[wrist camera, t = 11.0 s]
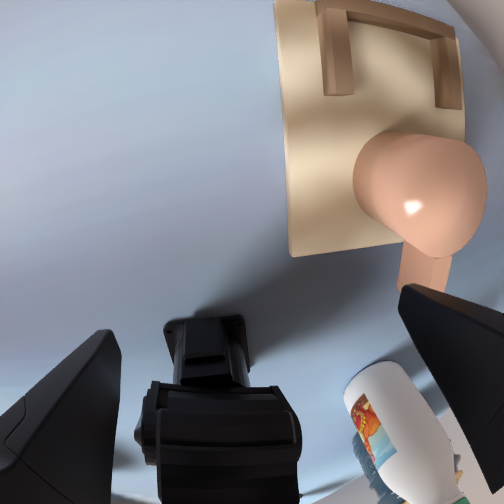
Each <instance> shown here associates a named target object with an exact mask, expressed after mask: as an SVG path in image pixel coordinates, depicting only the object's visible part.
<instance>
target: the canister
mask: <svg viewBox="0 0 504 504" xmlns="http://www.w3.org/2000/svg"><path fill="white" fill-rule="evenodd" d="M449 440H450V439H449ZM450 442H451V441H450ZM352 444H353V447H354V449H353V450H354V453H355V456H356V458H357V459H358V460H359V462H360V464H361V466H362V469H363V471H364V473H365V475H366V478H367V480H368V482H369V488H370V489H371V490H374V491H375V492H376V494H377V496H378V498H379V501H378V503H377V504H410V503H409V502H407V501H406V500H405V499H403V498H402V497H400V496H399V495H397V494H396V493H394V492H393V491H392V490H391V489H390V488H389V487H388V486H387V485H386V484H385V483H384V481H383V480H382V478H381V477H380V475H379V473H378V471H377V469H376V467H375V465H374V463H373V461H372V459H371V457H370V455H369V453H368V451H367V449H366V447H365V445H364V443H363V441H362V439H361V437H360V434H359V432H358V433H357V434H356V435H355V437H354V439H353V442H352ZM453 455H454V471H455V478H456V483H457V484H458V481H459V479H460V477H461V476H462V474H463V471H462V470H460V471H458V467H457V465H458V463H459V461H460V459H461V456H460V455H459V454H454V452H453Z"/></svg>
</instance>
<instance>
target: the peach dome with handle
mask: <svg viewBox="0 0 504 504" xmlns="http://www.w3.org/2000/svg"><path fill="white" fill-rule="evenodd" d="M353 189H354V194H355V197H356V200H357V202H358V204H359V206H360V207H361V209H362V210H363V211H364V212H365V213H366V214H367V215H368V216H369V217H371V218H372V219H374V220H375V221H377V222H378V223H380V224H381V225H383V226H385V227H386V228H388V229H389V230H391V231H392V232H394V233H395V234H397V235H398V236H400V237H401V238H403V239H404V242H403V250H402V257H401V264H400V270H399V276H398V282H397V288H396V289H397V290H398V291H399V292H400V293H401V289H402V287H403V286H404V285H406V284H411V283H416V284H419V285H422V286H425V287H428V288H431V289H434V290H437V291H440V292H443V293H444V291H445V287H446V283H447V279H448V275H449V271H450V266H451V261H452V254H454V253H456V252H458V251H459V250H460V249H462V248H463V247H464V246H465V245H466V244H467V243H468V242H469V240H470V239H471V238H472V236H473V235H474V233H475V232H476V230H477V228H478V226H479V224H480V222H481V220H482V217H483V214H484V210H485V206H486V200H487V179H486V173H485V169H484V166H483V164H482V161H481V159H480V157H479V156H478V154H477V153H476V151H475V150H474V149H473V148H472V147H471V146H469V145H468V144H466V143H464V142H462V141H458V140H453V139H448V138H442V137H436V136H430V135H424V134H417V133H410V132H402V131H384V132H381V133H379V134H377V135H375V136H374V137H372V138H371V139H370V140H369V141H368V142H367V143H366V144H365V145H364V146H363V147H362V149H361V151H360V152H359V154H358V156H357V159H356V162H355V165H354V170H353Z"/></svg>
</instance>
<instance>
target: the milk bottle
mask: <svg viewBox="0 0 504 504" xmlns="http://www.w3.org/2000/svg"><path fill="white" fill-rule="evenodd" d="M344 402H345V405H346V407H347V409H348V411H349V413H350V416H351V418H352V420H353V422H354V424H355V426H356V428H357V430H358V432H359V434H360V437H361V439H362V441H363V443H364V445H365V447H366V449H367V451H368V453H369V455H370V457H371V459H372V461H373V463H374V465H375V467H376V469H377V471H378V473H379V475H380V477H381V478H382V480H383V481H384V483H385V484H386V485H387V486H388V487H389V488H390V489H391V490H392V491H393V492H394V493H396V494H397V495H399V496H400V497H402V498H403V499H405V500H406V501H407V502H409V503H410V504H470V503H469V501H468V499H467V498H466V497H464V492H460V491H459V489H458V487H457V483H456V478H455V471H454V455H453V449H452V445H451V442H450V440H449V438H448V435H447V434H446V432H445V430H444V428H443V427H442V425H441V423H440V422H439V420H438V419H437V417H436V416H435V414H434V413H433V411H432V410H431V408H430V407H429V405H428V404H427V402H426V401H425V399H424V398H423V396H422V395H421V394H420V392H419V391H418V389H417V388H416V386H415V385H414V384H413V382H412V381H411V379H410V378H409V377H408V375H407V374H406V372H405V371H404V370H403V368H402V367H401V366H400V365H399V364H397V363H395V362H392V361H383V362H379V363H376V364H373V365H371V366H369V367H367V368H365V369H364V370H362V371H361V372H359V373H358V374H357V375H356V376H355V377H354V378H353V379H352V380H351V381H350V382H349V384H348V385H347V387H346V389H345V391H344Z"/></svg>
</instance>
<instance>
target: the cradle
mask: <svg viewBox="0 0 504 504" xmlns="http://www.w3.org/2000/svg"><path fill="white" fill-rule="evenodd" d="M273 7H274V17H275V27H276V37H277V48H278V60H279V72H280V85H281V99H282V113H283V129H284V147H285V166H286V188H287V213H288V246H289V253H290V255H291V256H292V258H293V257H300V256H307V255H315V254H322V253H329V252H336V251H343V250H350V249H358V248H365V247H372V246H379V245H386V244H393V243H399V242H404V239H403V238H401V237H400V236H398V235H397V234H395V233H394V232H392V231H391V230H389V229H388V228H386V227H385V226H383V225H381V224H380V223H378V222H377V221H375V220H374V219H372V218H371V217H369V216H368V215H367V214H366V213H365V212H364V211H363V210H362V209H361V207H360V206H359V204H358V202H357V200H356V197H355V194H354V189H353V170H354V165H355V162H356V159H357V156H358V154H359V152H360V151H361V149H362V147H363V146H364V145H365V144H366V143H367V142H368V141H369V140H370V139H371V138H372V137H374V136H375V135H377V134H379V133H381V132H384V131H402V132H410V133H417V134H424V135H430V136H436V137H442V138H448V139H453V140H458V141H462V142H464V143H465V106H464V87H463V74H462V64H461V56H460V48H459V41H458V38H457V37H455V32H454V27H452V26H449V25H447V24H445V23H442V22H439V21H437V20H434V19H431V18H429V17H426V16H423V15H420V14H417V13H414V12H411V11H408V10H404V9H401V8H398V7H394V6H390V5H387V4H383V3H379V2H375V1H371V0H316V1H315V2H312V1H302V0H275V2H274V3H273Z"/></svg>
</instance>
